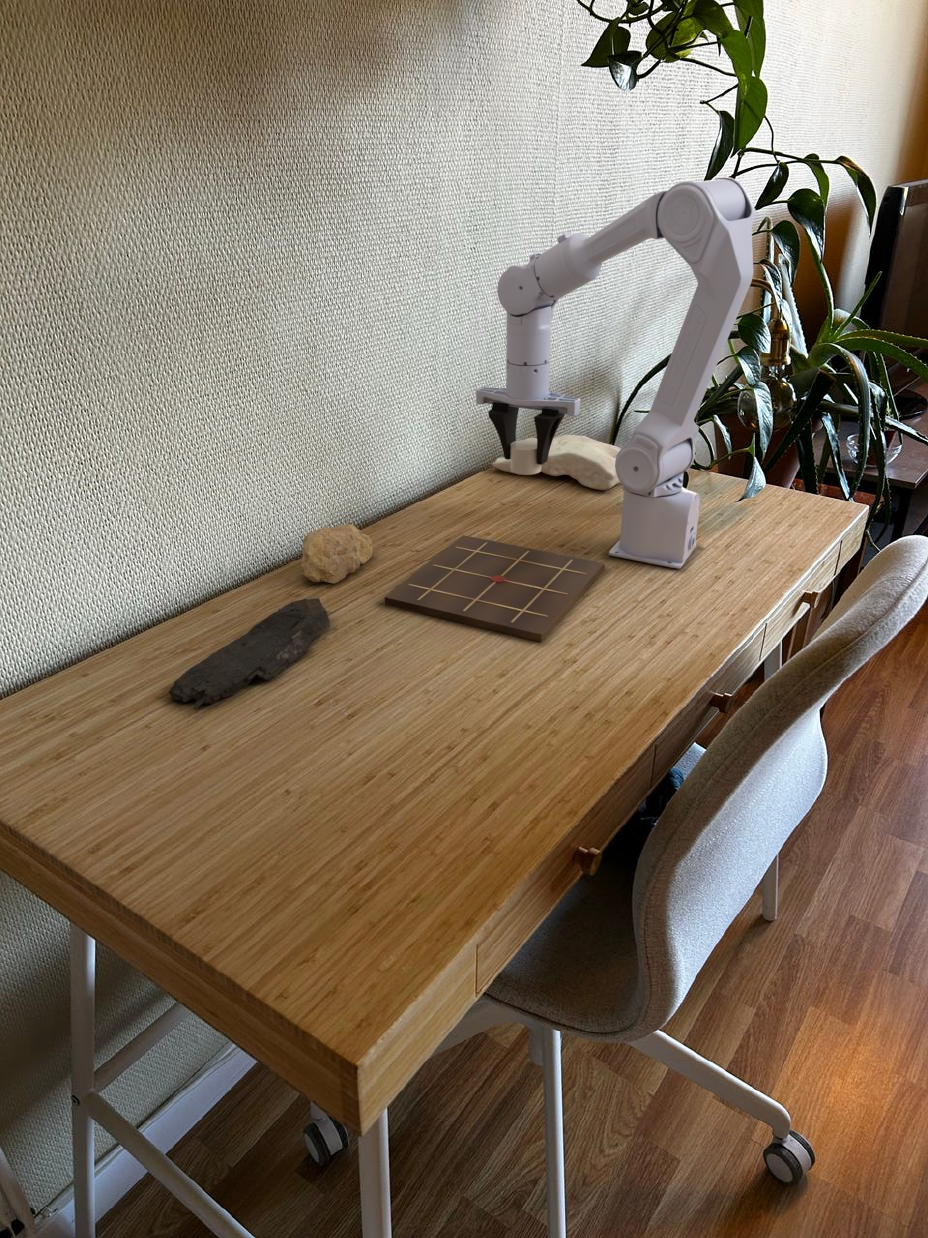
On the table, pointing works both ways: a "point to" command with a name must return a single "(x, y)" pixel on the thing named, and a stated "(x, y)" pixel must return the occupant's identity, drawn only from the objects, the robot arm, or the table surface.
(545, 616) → the board
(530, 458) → the cream short cylinder
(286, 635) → the wood
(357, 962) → the table surface
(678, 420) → the robot arm
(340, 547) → the stone tool
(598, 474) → the decorative stone
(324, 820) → the table surface
